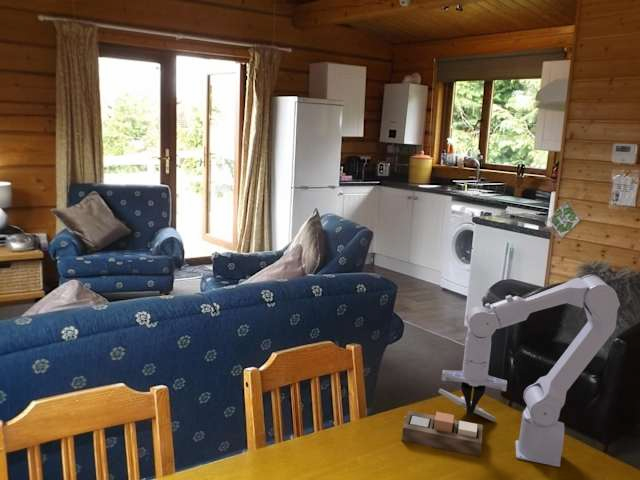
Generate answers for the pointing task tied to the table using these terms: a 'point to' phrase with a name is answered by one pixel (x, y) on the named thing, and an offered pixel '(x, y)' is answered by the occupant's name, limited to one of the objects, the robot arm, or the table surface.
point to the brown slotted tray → (441, 436)
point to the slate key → (420, 422)
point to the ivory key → (467, 429)
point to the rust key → (443, 422)
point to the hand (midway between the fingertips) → (470, 413)
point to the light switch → (462, 403)
